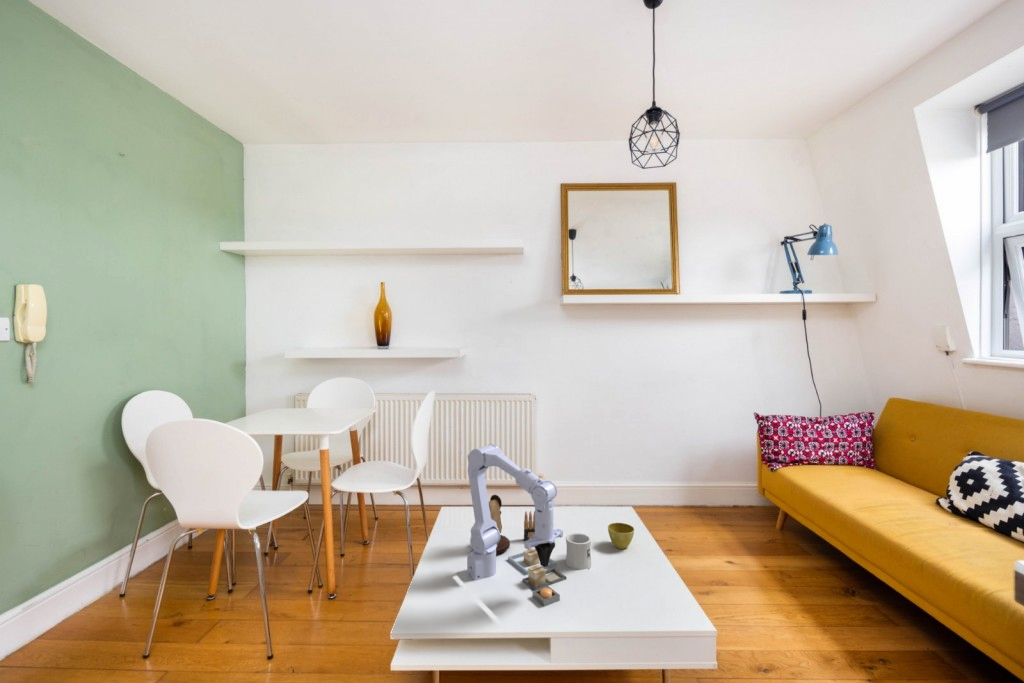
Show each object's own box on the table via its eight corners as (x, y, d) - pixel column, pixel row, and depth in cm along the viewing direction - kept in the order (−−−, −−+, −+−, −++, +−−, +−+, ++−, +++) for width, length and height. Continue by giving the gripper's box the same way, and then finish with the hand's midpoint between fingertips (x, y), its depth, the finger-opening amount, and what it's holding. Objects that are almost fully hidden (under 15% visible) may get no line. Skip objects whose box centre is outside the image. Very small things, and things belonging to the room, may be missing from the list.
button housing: (543, 610, 138) (543, 601, 138) (532, 600, 143) (532, 591, 143) (559, 604, 141) (559, 594, 141) (548, 594, 146) (548, 585, 146)
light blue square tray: (526, 578, 156) (526, 571, 156) (508, 562, 166) (508, 556, 166) (555, 568, 163) (555, 562, 163) (535, 554, 173) (535, 548, 173)
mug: (591, 573, 159) (591, 545, 159) (564, 571, 161) (564, 542, 160) (592, 556, 171) (592, 530, 171) (567, 554, 173) (567, 528, 173)
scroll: (493, 562, 167) (493, 507, 167) (463, 550, 176) (463, 498, 176) (517, 547, 179) (517, 495, 179) (488, 537, 188) (488, 488, 187)
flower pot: (632, 540, 184) (632, 522, 184) (636, 552, 174) (636, 533, 174) (606, 539, 185) (606, 522, 185) (609, 551, 175) (609, 532, 175)
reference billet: (535, 587, 148) (535, 573, 148) (528, 581, 152) (528, 567, 152) (545, 583, 150) (545, 569, 150) (538, 578, 154) (538, 564, 154)
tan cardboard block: (530, 568, 162) (530, 555, 162) (523, 563, 165) (523, 550, 165) (539, 565, 164) (539, 552, 164) (533, 560, 167) (532, 548, 167)
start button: (544, 604, 139) (544, 595, 139) (537, 598, 142) (537, 589, 142) (554, 600, 141) (554, 592, 141) (547, 594, 144) (547, 586, 144)
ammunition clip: (523, 542, 183) (523, 512, 183) (523, 540, 185) (523, 510, 185) (550, 542, 183) (550, 512, 183) (550, 540, 185) (550, 510, 185)
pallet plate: (535, 596, 145) (535, 590, 145) (519, 583, 153) (519, 577, 153) (569, 583, 153) (569, 578, 153) (553, 571, 160) (553, 566, 160)
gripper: (535, 532, 136) (535, 578, 136) (569, 520, 145) (569, 563, 145) (519, 524, 142) (519, 568, 142) (554, 513, 151) (554, 554, 151)
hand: (544, 565), depth 144 cm, fingers closed
